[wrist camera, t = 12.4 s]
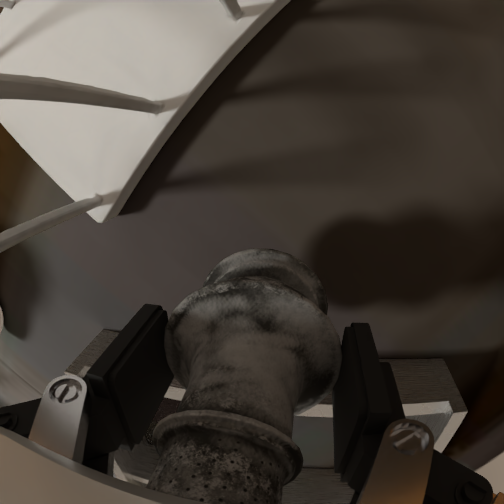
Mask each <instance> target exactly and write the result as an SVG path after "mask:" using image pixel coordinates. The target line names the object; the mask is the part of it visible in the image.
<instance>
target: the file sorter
mask: <svg viewBox="0 0 504 504" xmlns="http://www.w3.org/2000/svg"><path fill="white" fill-rule="evenodd" d="M290 1H291V0H0V7H4V9H3V11H2V12H1V14H0V123H1V124H2V125H3V126H4V127H5V128H6V130H7V131H8V132H9V133H10V134H11V135H12V136H13V138H14V139H15V140H16V141H17V142H18V143H19V144H20V145H21V146H22V148H23V149H24V150H25V151H26V152H27V153H28V154H29V155H30V156H31V157H32V158H33V159H34V160H35V161H36V162H37V163H38V165H39V166H40V167H41V168H42V169H43V170H44V171H45V172H46V173H47V174H48V175H49V176H50V177H51V178H52V179H53V180H54V181H55V182H56V183H57V184H58V185H59V186H60V187H61V188H62V189H63V190H64V191H65V192H66V193H67V194H68V195H69V196H70V197H71V198H72V199H73V200H74V201H75V203H72V204H69V205H66V206H64V207H61V208H59V209H56V210H53V211H51V212H48V213H46V214H43V215H41V216H38V217H37V218H35V219H33V220H30V221H27V222H24V223H22V224H20V225H17V226H15V227H13V228H10V229H8V230H5V231H3V232H2V233H0V252H2V251H4V250H6V249H8V248H10V247H12V246H14V245H16V244H18V243H20V242H22V241H24V240H26V239H28V238H30V237H32V236H34V235H36V234H39V233H41V232H43V231H45V230H47V229H49V228H51V227H53V226H56V225H58V224H60V223H62V222H64V221H67V220H69V219H71V218H73V217H76V216H78V215H80V214H82V213H85V212H87V213H88V214H89V215H90V216H91V217H92V218H93V219H94V220H95V221H96V222H98V223H103V222H105V221H107V220H110V219H112V218H114V217H116V216H117V215H118V214H119V212H120V211H121V209H122V208H123V206H124V204H125V203H126V201H127V199H128V198H129V196H130V195H131V193H132V191H133V190H134V188H135V187H136V185H137V184H138V182H139V180H140V179H141V177H142V176H143V174H144V173H145V171H146V170H147V168H148V167H149V165H150V164H151V162H152V161H153V160H154V158H155V157H156V155H157V154H158V152H159V151H160V150H161V148H162V147H163V145H164V144H165V142H166V141H167V140H168V138H169V137H170V136H171V134H172V133H173V132H174V130H175V129H176V128H177V126H178V125H179V124H180V122H181V121H182V120H183V119H184V117H185V116H186V115H187V113H188V112H189V111H190V110H191V108H192V107H193V106H194V105H195V104H196V102H197V101H198V100H199V99H200V97H201V96H202V95H203V94H204V92H205V91H206V90H207V89H208V88H209V86H210V85H211V84H212V83H213V82H214V80H215V79H216V78H217V77H218V76H219V74H220V73H221V72H222V71H223V70H224V69H225V68H226V66H227V65H228V64H229V63H230V62H231V61H232V60H233V59H234V58H235V56H236V55H237V54H238V53H239V52H240V51H241V50H242V49H243V48H244V47H245V46H246V45H247V44H248V42H249V41H250V40H251V39H252V38H253V37H254V36H255V35H256V34H257V33H258V32H259V31H260V30H261V29H262V28H263V27H264V26H265V25H266V24H267V23H268V22H269V21H270V20H271V19H272V18H273V17H274V16H275V15H276V14H277V13H278V12H279V11H280V10H281V9H282V8H283V7H284V6H286V5H287V4H288V3H289V2H290Z"/></svg>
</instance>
